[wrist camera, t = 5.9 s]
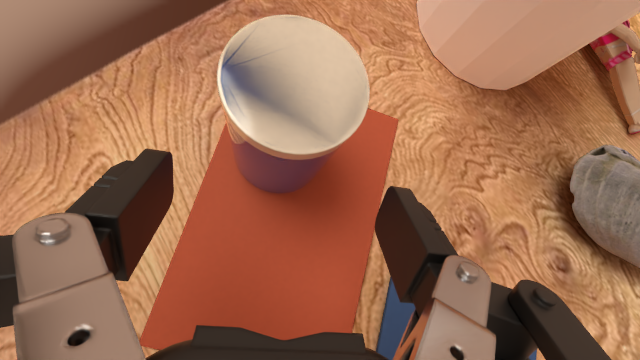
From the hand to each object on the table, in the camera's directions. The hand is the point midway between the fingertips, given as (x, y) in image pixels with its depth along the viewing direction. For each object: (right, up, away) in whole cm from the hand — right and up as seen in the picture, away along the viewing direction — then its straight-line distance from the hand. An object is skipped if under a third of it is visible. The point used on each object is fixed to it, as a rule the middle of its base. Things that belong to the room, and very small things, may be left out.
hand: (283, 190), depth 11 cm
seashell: (+26, -3, +15) cm, 30 cm away
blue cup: (-1, +2, +10) cm, 10 cm away
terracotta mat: (-1, -2, +9) cm, 9 cm away
